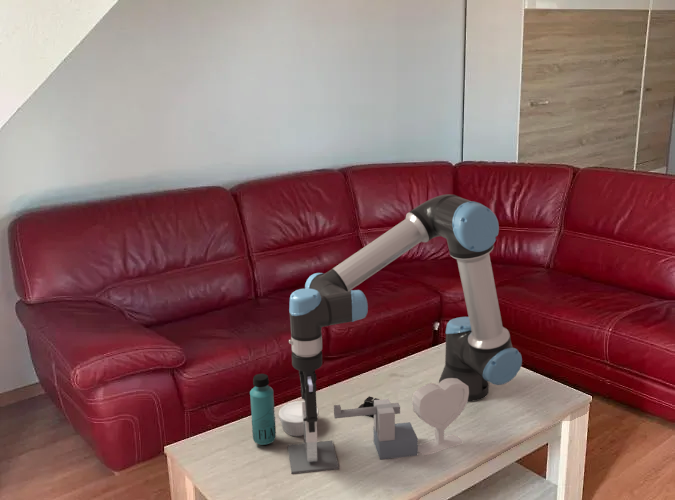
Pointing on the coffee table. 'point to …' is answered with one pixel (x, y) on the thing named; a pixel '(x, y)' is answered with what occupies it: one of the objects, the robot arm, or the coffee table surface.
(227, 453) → the coffee table surface
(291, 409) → the ramekin
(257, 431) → the beverage bottle
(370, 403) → the black phone stand
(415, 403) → the heart sculpture
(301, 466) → the mat
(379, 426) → the vise
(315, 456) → the ring
